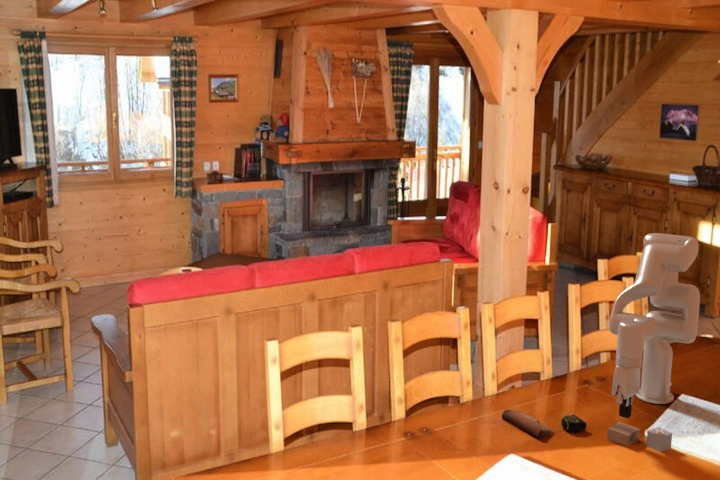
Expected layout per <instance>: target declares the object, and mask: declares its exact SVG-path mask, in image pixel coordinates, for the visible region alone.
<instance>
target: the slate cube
mask: <svg viewBox="0 0 720 480" xmlns="http://www.w3.org/2000/svg"><path fill="white" fill-rule="evenodd" d="M646 435H647V436H646V447H648V448H651V449H653V450H655V451H657V452H659V453H662V452H664V451H669V449H671V448H672V441H673V432H670V431H668V430H665V429H664V428H661V427H660V426H659V427H655V428H652V429H649V430H647V434H646Z"/></svg>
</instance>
